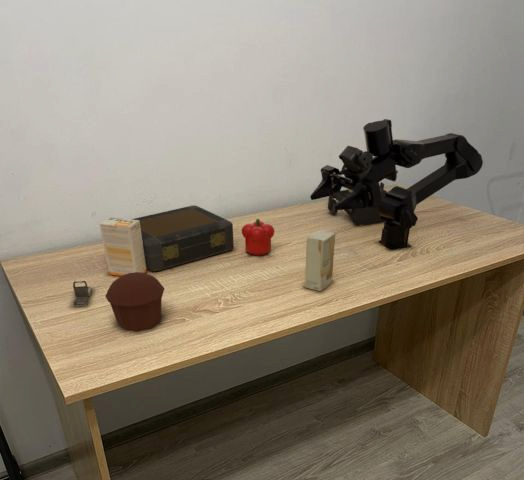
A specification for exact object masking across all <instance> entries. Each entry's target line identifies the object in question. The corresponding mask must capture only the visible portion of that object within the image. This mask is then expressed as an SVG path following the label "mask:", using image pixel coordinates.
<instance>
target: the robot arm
mask: <svg viewBox="0 0 524 480" xmlns="http://www.w3.org/2000/svg"><path fill="white" fill-rule="evenodd" d="M392 126H393V124H392V119H388V118H383V119H382V120H377V121H373V122H368V123H366V124H365V125H364V126H363V128H362V129H363V136H364V142H365V149H366V150H365V151H363V150H362V149H360V148H358V147H356V146H355V147H354V146H352V145H347V146H346V147H345V148H344V149H343V150H342V151H341V153H340V154H339V155H338V158H339V160H341V162H342V164H343V165H345V167H346V168H344V169H343V170H344V174H346V176H344V175H340V171H341V170H340V169H339V168H337V167H335V166H332V165H329V164H326V165H324V166H323V167H321V168H320V173H321V181H320V182H319V184H318V185H317V186H316V188H315V189H314V190H313V192H312V193H311V194H310V195H309V197H310V200H311V201H314V200H320V199H322V198H327V197H328V198H329V196H332V195H334V193H337V192H339V191H342V188H344V189H346V190H349V192H350V194H349V195H347V196H346V197H345V198H343V199H342V200H341V201H337V204H336V205H335V206H334V208H335V210H338V211H344V210H346V209H363V208H365V209H369V208H371V209H375V208H376V207H378V212H379V216H380V220H383V221H385V222H383V228H382V229H381V234H380V235H381V236H380V239H379V240H378V243H379V244H380V245H381V246H383V247H385V248H386V249H388V250H389V251H396V250H401V249H408V248H412V245H411V243H409V237H410V231H411V229H412V228H413V227H415V226H416V224H417V222H418V219H419V218H418V216H417V215H416V213H415V211H416V208H417V205H419V204H420V203H422V202H423V201H425V200H427V199H428V198H429V197H431V196H433V195H434V194H435V193H437V192H440V191H441V190H442V189H444V188H445V187H446V186H448V185H449V184H451V183H452V182H454V181H456V180H463V179H468V178H471V177H473V176H475V175H477V174H479V172H480V171H481V170H482V167H483V165H484V161H483V156H482V154H480V153H479V150H477V149H476V148H475V147H474V146H473V145H472V144H471V143H470V142H469V141H468V140H467V138H466V137H465V136H464V135H463V134H458V133H453V132H449V133H447V134H444V135H439V136H435V137H434V136H433V137H430V138H424V139H419V140H409V139H394V138H393V137H394V136H393V129H392V128H393V127H392ZM441 155H444V157H445V162H444V165H442V166H441V167H439V168H437V169H436V170H434V171H433V172H431V173H430V174H427V176H424V177H423V178H421V179H420V180H418V181H416V182H415V183H414V184H412V185H411V186H409V187H408V188H404V187H401V186H398V185H396V186H394V187H392V188H391V189H390V190H388V191H387V192H385V195H384V196H383V197H381V191H380V182H382V181H383V180H388V181H391V182H396V181H397V178H398V173H399V170H397V166H398V167H401V168H405V169H410V168H413V167H416V166H417V165H419V164H420V163H421V162H422V161H423V160H424V159H428V158H432V157H437V156H441Z"/></svg>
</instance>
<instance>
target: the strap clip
mask: <svg viewBox="0 0 524 480" xmlns="http://www.w3.org/2000/svg"><path fill="white" fill-rule="evenodd" d="M81 283H83V284H84V285H80V286H76V284H81ZM72 288H73V292H74V296H75V299H74V300H73V307H86V306H87V305H89V297H90V296H91V294H92V287H91V286H88V283H87V280H76V281H75V280H74V281H73V283H72Z"/></svg>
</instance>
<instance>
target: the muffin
mask: <svg viewBox="0 0 524 480" xmlns="http://www.w3.org/2000/svg"><path fill="white" fill-rule="evenodd" d="M164 292H165V287H164V286H163V284H162V283H161V282H160V280H158V278H157V277H155V276H154V275H152V274H148V273H146V272H145V273H141V272H134V273H128V274H125V275H123V276H118V278H116V279H115V280H113V281H112V283H111V284H110V286H109V287H108V289H107V292H106V294H105V295H104V297H105V299H106V300H107V302H108V303H109V304H110V308H111V310H112V312H113V314H114V317H115V320H116V324H117V325H118V326H119V327H121V328H122V329H123V330H124V331H132V332H136V333H137V332H142V331H145V330H152V329H153V328H154V327H155V326H158V325H159V324H161V318H162V299H163V296H164Z"/></svg>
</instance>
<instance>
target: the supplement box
mask: <svg viewBox="0 0 524 480" xmlns="http://www.w3.org/2000/svg"><path fill="white" fill-rule="evenodd" d="M131 219H132V218H131ZM131 219H129V218H120V217H112V216H110V217H108V218H106V219H104V220H103V221H101V222H100V223H99V227H100V232H101V239H102V243H103V248H104V249H103V250H104V255H105V259H106V265H107V269H108V274H109V275H111V276H117V277H121V276H123V275H125V274H128V273H134V272H141V273H145V274H146V272H148V271H147V270H148V269H147V268H146V262H145V255H144V249H143V242H142V235H141V228H140V221H139V220H131Z"/></svg>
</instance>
